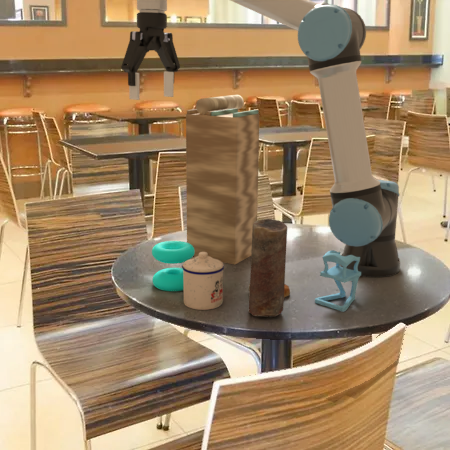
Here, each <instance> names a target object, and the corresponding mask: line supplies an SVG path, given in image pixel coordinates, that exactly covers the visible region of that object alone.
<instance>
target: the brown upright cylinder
mask: <svg viewBox="0 0 450 450" xmlns="http://www.w3.org/2000/svg"><path fill="white" fill-rule="evenodd" d="M287 240H288V226H287V224H286V223H284V222H283V221H282V220H279V219H271V218H263V219H257V221H255V222H254V224H253V229H252V250H251V256H250V274H249V275H250V277H249V284H250V291H249V290H248V294H249V295H248V313H250V314H251V315H252V316H254V317H266V318H274V317H275V318H276V317H277V316H279V315H280V314H282V313H283V311H284V304H285V303H284V302H285V301H284V300H285V298H284V285H285V284H286V283H285V282H286V263H287V262H286V260H287V257H286V256H287Z"/></svg>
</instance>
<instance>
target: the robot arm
mask: <svg viewBox="0 0 450 450" xmlns="http://www.w3.org/2000/svg"><path fill="white" fill-rule="evenodd" d="M229 1H230V2H233V3H235V4H238V5H240V6H242V7H244V8H246V9H248V10H251V11H253V12H255V13H258V14H260V15H263V17H267V18H269V19H271V20H273V21H275V22H278V23H280V24H281V25H284V26H286V27H289V28H291V29H292V30H293V29H294V31H297V42H298V45H299V48H300V49H301V51H302V53H303V54H304V55H305V56H306V57H307V63H308V69H309V73H310V74H311V75H312V76H313V77H315V78H316V79H317V82H318V87H319V94H320V99H321V100H320V101H321V106H322V112H323V117H324V122H325V130H326V131H325V132H326V137H327V143H328V147H329V153H330V154H329V155H330V160H331V166H332V173H333V179H334V183H333V185H332V186H331V187H330V189H329V194H330V201H331V205H332V206H331V207H332V208H331V210H330V212H329V217H328V225H329V229H330V231H331V234H332V235H333V236H334V237H335V238H336V240H338V241H340V242H341V243H342V244H344V245H345V246H344V247H343V248H344V249H343V252H342V253H341V255H342V256H348V255H353V256H356V257H360V261H359V264H358V267H357V268H358V271H359V272H361V276H360V277H371V278H383V277H390V276H393V275H397V274H398V273H399V272H400V271H401V270H400V269H401V259H400V258H399V252H398V249H397V248H398V247H397V242H396V233H397V219H398V206H399V205H398V204H399V197H400V193H399V191H400V190H399V189H400V187H399V184H398V183H397V182H395V181H391V180H384V179H377V178H375V177H374V176H373V172H372V165H371V160H370V153H369V145H368V139H367V134H366V126H365V120H364V114H363V108H362V102H361V95H360V90H359V88H360V87H359V82H358V77H357V70H358V68H359V67H360V65H361V64H362V55H361V49H362V47H363V46H364V44H365V42H366V37H367V28H366V27H367V26H366V23H365V21H364V18H362V16H361V15H360V14H359V13H358V12H357V11H354V10H353V9H350V8H347V7H342V6H340V5H336V4H332V3H331V4H330V3H328V2H326V1H325V2H321V3H317V2H314V1H312V0H229ZM136 9H137V11H139V12H137V14H136V26H137V28H138V29H139V31H138V30H137V31H135V30H134V31H130V33H129V42H128V45H127V48H126V51H125V54H124V57H123V60H122V64H121V66H120V67H121V70H123V71H124V73H127V81H128V82H127V85H128V87H129V88H128V90H129V91H128V92H129V93H128V95H129V96H128V98H129V100H136V101H139V100H141V99H140V72H138V70H139V68H140V66H141V65H142V63H143V62H144V61H143V60H145V57H146V55H147V54H148V53H149V52H150V51H154V52H156V53H157V56H158V57H159V59H160V61H161V63H162V65H163V67H164V69H165V71H163V97H165V98H166V97H168V98H174V88H175V87H174V84H175V73H177V72H179V69H181V65H180V61H179V58H178V55H177V51H176V48H175V45H174V40H173V36H174V35H173V33H172V32H165V29H167V27H168V14H166V12H167V11H168V0H136ZM355 263H356V261H353V262H351V263H350V264H349V265H348V266H347V267H346V268H347V269H350V270H354V265H355ZM340 266H341V267H343V266H342V265H340Z"/></svg>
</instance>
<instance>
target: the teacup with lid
mask: <svg viewBox="0 0 450 450" xmlns="http://www.w3.org/2000/svg"><path fill="white" fill-rule="evenodd" d="M181 268H182V269H183V280H184V290H183V304H184V305H185V306H186V307H188V309H193V310H196V311H197V310H199V311H201V310H203V311H207V310H213V309H216V308H219V307H220V306H221V305H222V304H223V301H224V300H223V299H224V293H223V292H224V291H223V290H224V269H225V265H224V262H221V261H220V260H217V259H214V258H212V257H210V256H208V253H207V252H200V253H199V256H197V257H192V258H191V259H189V260H187V261H185V262H183V263H182V266H181Z"/></svg>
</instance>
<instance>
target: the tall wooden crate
mask: <svg viewBox="0 0 450 450" xmlns="http://www.w3.org/2000/svg"><path fill="white" fill-rule="evenodd" d="M185 139H186V140H185V155H186V156H185V157H186V159H185V162H186V163H185V165H186V167H185V172H186V173H185V174H186V178H185V179H186V180H185V181H186V182H185V183H186V184H185V185H186V242H187V243H189V244H191V245H192V246H193V247H194V250H195V253H194V257H193V258H195V257H197V256H199V253H200V252H207V253H208V256H210V257H212V258H214V259H217V260H220V261H221V262H222V263H223V264H229V265H237V264H239V263H241V262H242V261H244V260H246V259H248V258H249V257H250V258H251V250H252V229H253V224H254V222H255V221H258V205H259V203H258V196H259V194H258V193H259V157H260V156H259V153H260V147H259V146H260V113H259V109H253V110H246V111H239V109H236V108H235V109H234V108H229V109H222V110H215V111H208V112H207V114H200V113H199V112H198V111H197V109H196V108H195V109H187V110H186V114H185Z"/></svg>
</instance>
